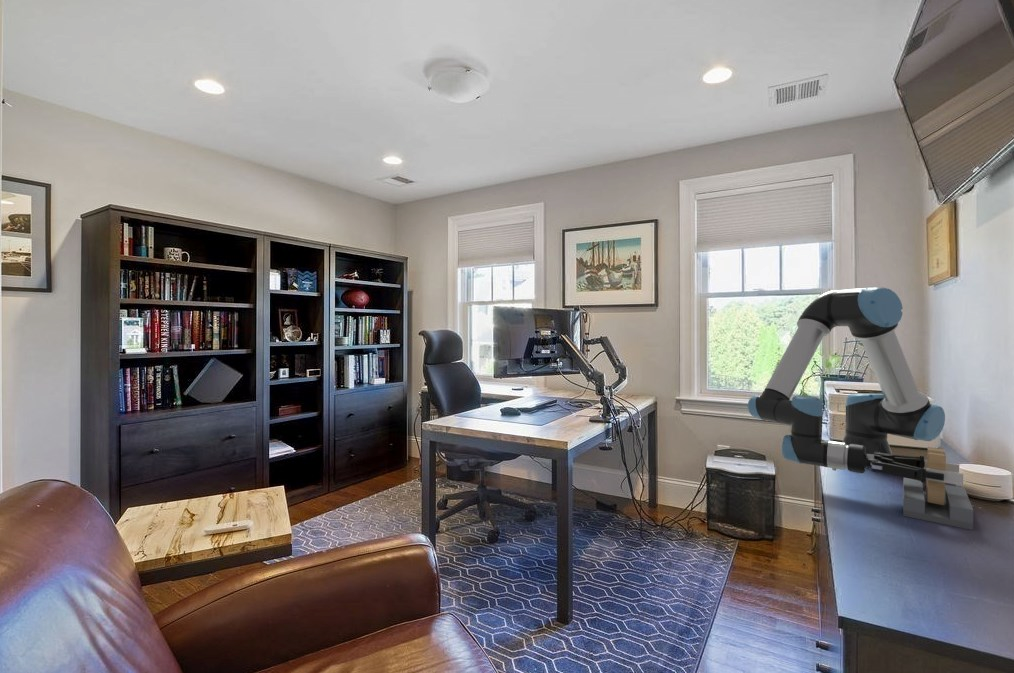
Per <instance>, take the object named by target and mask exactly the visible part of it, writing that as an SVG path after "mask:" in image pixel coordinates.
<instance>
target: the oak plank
mask: <svg viewBox="0 0 1014 673" xmlns="http://www.w3.org/2000/svg"><path fill="white" fill-rule="evenodd" d="M926 454H927V455H926V456H927V457H926V460H927V468H930V469H937V470H943V471H946V463H947V455H946V451H945V449H944V448H939V447H931V446H927V452H926ZM925 483H926V486H925V487H926V488H925V492H926V495H927V502H930V503H935V504H940V505H944V498H945V483H944V482H938V481H932V480H926V482H925Z"/></svg>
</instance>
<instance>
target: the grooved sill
mask: <svg viewBox="0 0 1014 673" xmlns="http://www.w3.org/2000/svg"><path fill="white" fill-rule="evenodd" d="M902 481H903V484H902V485H903V486H902V505H903V506H902V507H903V508H902V510H903V513H902V514H903V517H908V518H914V519H916V520H917V519H918V520H923V521H926V522H930V523H931V522H932V523H937V524H941V525H946V526H951V527H956V528H960V529H965V530H969V531H973V530H974V508H973V505H972V504H971V501H970V498H969V496H968V493H967V491H966V488H965V487H963V486H962V487H961V486H958V485H957V486H956V485H951V484H950V485H945V498H944V505H940V504H935V503H930V502H927V495H926V491H924V487H923V484H922V482H921V481H918V480H914V479H909V478H904V477H903V480H902Z"/></svg>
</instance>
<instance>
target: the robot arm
mask: <svg viewBox="0 0 1014 673" xmlns="http://www.w3.org/2000/svg"><path fill="white" fill-rule="evenodd" d="M903 308H904V307H903V303H902V301H901V298H900V297H899V296H898V294H897V293H896V292H895V291H894V290H892V289H890V288H887V287H883V286H882V287H881V286H880V287H877V286H876V287H875V286H867V287H863V288H850V289H849V288H847V289H834V290H828V291H827V292H824V293H823V294H821V295H819V296H818V297H817V298H815V299H814V300H813V301H811V303H809V305H808V306H806V308H805V309H804V311H802V313H801V315H800V317H799V318H798V320H797V322H796V325H797V329H796V330H795V332H794V334H793V336H792V338H791V340H790V342H789V344H788V345H787V348H786V349H785V351H784V353H783V355H782V357H781V359H780V361H779V362H778V364H777V366H776V367H775V369H774V371H773V373H772V375H771V377H770V379H769V380H768V382H767V384H766V385H765V388H764V390H763V391H762V393H761V394H754V395H752V397H750V398H749V400H748V402H747V410H748V412H749V414H750V415H751V416H753V417H754V418H756V419H759V420H762V421H768V422H773V423H778V424H780V425H785V426H790V429H791V430H790V434H785V435H783V438H782V441H781V443H782V445H781V454H782V457H783V458H784V459H785V460H786V461H790V462H794V463H799V464H800V465H801V464H804V465H809V466H810V465H811V466H816V467H823V468H830V469H832V471H837V470H840V471H845V470H846V469H847V471H848V472H851V473H856V474H865V472H866V467H867V468H871V472H872V473H873V472H874V473H880V474H881V473H882V474H886V475H892V476H897V477H901V478H904V477H905V478H910V479H914V480H918V481H921V482H923V483H926V480H932V481H938V482H944V483H950V485H951V484H952V485H955V486H956V485H957V486H962V487H963V486H964V473H962V472H960V464H957V463H951V462H946V471H943V470H937V469H930V468H927V459H925V456H923V455H919V456H914V455H913V456H912V455H906V454H905V455H903V454H902V455H901V454H893V452H892V450H891V447H890V444H889V441H888V435H892V436H896V437H899V438H900V437H901V438H907V439H910V440H915V441H922V442H933V441H934V440H936V439H937V438H939V436H940V435H941V433H942V432H943V429H944V426H945V423H946V422H945V421H946V414H945V410H944V408H943V407H942V406H940V405H938V404H932V403H931V402H930V400H929V397H928V395H927V394H926V393H924V392H922V391H919V389H918V386H917V383H916V382H915V378H914V377H913V374H912V370H911V369H910V367H909V364H908V361H907V359H906V356H905V354H904V352H903V349H902V346H901V344H900V341H899V339H898V337H897V334H896V329H897V328H898V327H899V322H901V320H902V316H903V311H902V310H903ZM836 327H848V329H849V331H850V334H851V336H852V337H854V338H855V339H860V341H861V344H862V346H863V349H864V351H865V354H866V356H867V359H868V361H869V363H870V366H871V369H872V371H873V373H874V375H875V377H876V380H877V381H878V382H877V383H878V384H879V385H878V386H880V389H881V392H882V393H851V394H849V395H847V397H846V402H845V426H844V427H845V428H844V429H845V430H844V431H845V432H844V433H845V434H844V437H843V439H842V441H834V440H825V439H823V437H822V436H823V417H824V411H823V401H822V399H821V398H820V397H816V396H813V395H812V396H811V395H794V396H793V394H794V392H795V390H796V389H797V386H798V384H799V383H800V381H801V380H802V378H803V376H804V374H805V372H806V370H807V368H808V367H809V365H810V362H811V361H812V359H813V357H814V355H815V353H816V351H817V349H818V348H819V345H820V344H821V343H822V340H823V338H824V337H827V336H828V335H830V333H831V331H832V330H833V329H834V328H836Z"/></svg>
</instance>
